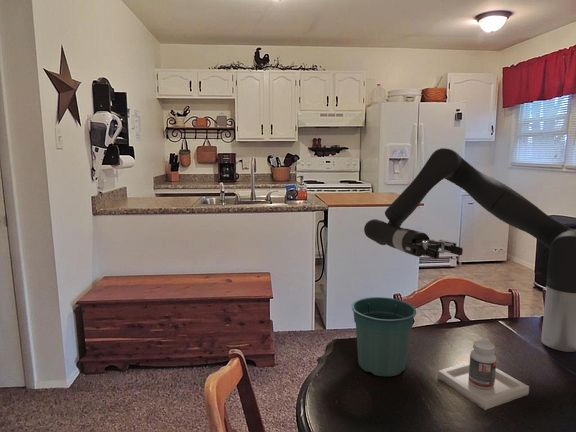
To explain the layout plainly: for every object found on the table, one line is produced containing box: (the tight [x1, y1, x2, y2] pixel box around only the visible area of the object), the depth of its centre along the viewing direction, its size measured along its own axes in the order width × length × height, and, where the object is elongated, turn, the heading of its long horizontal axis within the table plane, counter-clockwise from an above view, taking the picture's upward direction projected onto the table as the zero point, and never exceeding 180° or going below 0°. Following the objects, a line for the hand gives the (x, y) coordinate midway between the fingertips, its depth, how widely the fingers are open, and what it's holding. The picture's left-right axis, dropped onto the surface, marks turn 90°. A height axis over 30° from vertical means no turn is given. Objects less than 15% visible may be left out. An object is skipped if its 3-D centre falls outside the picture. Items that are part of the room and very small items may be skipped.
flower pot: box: [351, 296, 417, 377], centre depth 108 cm, size 16×16×16 cm
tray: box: [437, 361, 530, 411], centre depth 99 cm, size 14×14×2 cm
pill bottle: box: [469, 339, 497, 389], centre depth 98 cm, size 6×6×10 cm
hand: (450, 253), depth 113 cm, fingers open, 8 cm apart
